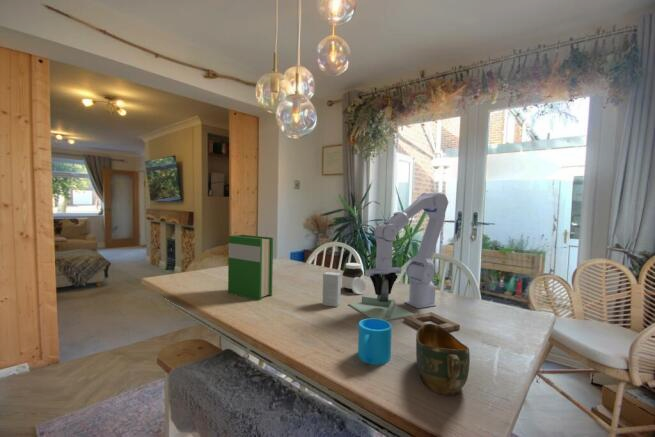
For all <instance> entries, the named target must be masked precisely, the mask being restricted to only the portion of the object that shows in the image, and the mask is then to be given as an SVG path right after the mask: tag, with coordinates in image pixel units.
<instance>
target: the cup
mask: <svg viewBox="0 0 655 437" xmlns="http://www.w3.org/2000/svg"><path fill="white" fill-rule="evenodd" d="M437 325H438V324H433V323H425V325H422V326H421V327H420V328H419V329H417V331H416V334H415V335H416V337H415V339H416V340H415V342H416V343H415V344H416V345H415V348H416V349H415V356H416V363H417V364H416V365H417V368H418V372H419V377H420V378H421V379H420V380H421V381H422V383H423V384H424V385H425V386H426V387H427V388H428V389H430V390H431V391H434V392H435V393H438V394H439V395H442V396H443V395H444V396H455V395H458V394H460V392H461V389H462V388H463V387H464V386H465V384H466V383H467V380H468V377H469V372H470V361H471V360H470V359H471V356H470V348H469V347H468V346H467V345H465V344H464V343H462V342H461V341H460V340H458V339H457V338H456V337H455V336H454V335H453V334H452V333H451V332H448V331H446V330H445V329H444V328H442V327H440V326H437Z"/></svg>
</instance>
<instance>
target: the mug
mask: <svg viewBox="0 0 655 437" xmlns="http://www.w3.org/2000/svg"><path fill="white" fill-rule="evenodd" d="M392 328H393V326H392V324H391V323H390V322H389V321H385V320H381V319H374V318H365V319H360V320H359V322H358V340H357V341H358V343H357V344H358V346H357V356H358V358H359V360H360V361H362V362H363V363H366V364H370V365H378V366H379V365H385V364H388V363H389V362H390V361H391V360H392V359H391V358H392V333H393V332H392V331H393V329H392Z"/></svg>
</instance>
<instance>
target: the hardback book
mask: <svg viewBox="0 0 655 437" xmlns="http://www.w3.org/2000/svg"><path fill="white" fill-rule="evenodd" d="M273 258H274V238H273V237H269V236H261V235H260V236H259V235H249V234H235V235H229V236H228V258H227V259H228V265H227V266H228V271H227V272H228V274H227V275H228V277H227V280H228V281H227V285H228V286H227V293H228V292H229V293H228V294H231V293H233V294H232V295H235V294H237V295H236V296H239V295H241V296H240V297H243V296H244V298H248V299H253V300H257V301H261V300H262V298H264V297H265V296H267V295H268V297H272V296H273V271H274V270H273V268H274V266H273V265H274V263H273V262H274V261H273V260H274V259H273Z"/></svg>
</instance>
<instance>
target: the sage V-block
mask: <svg viewBox="0 0 655 437" xmlns="http://www.w3.org/2000/svg"><path fill="white" fill-rule="evenodd" d="M348 306H349V307H352V308H353V309H354V310H356V311H358V312H360V313H361V314H363V315H364V316H366V317H367V318H368V319H370V318H374V319H381V320H385V321H387V322H389V321H393V320H394V321H395V320H399V319H404V317H406V316H412V315H416V314H415V313H413V312H411V311H409V310H407V309H405V308H403V307H401V306H398V305H397V304H396V300H395V299H393V298H388V302H379V301H377V296H368V295H367V296H366V295H362V296H361V301H355V302H348Z"/></svg>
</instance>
